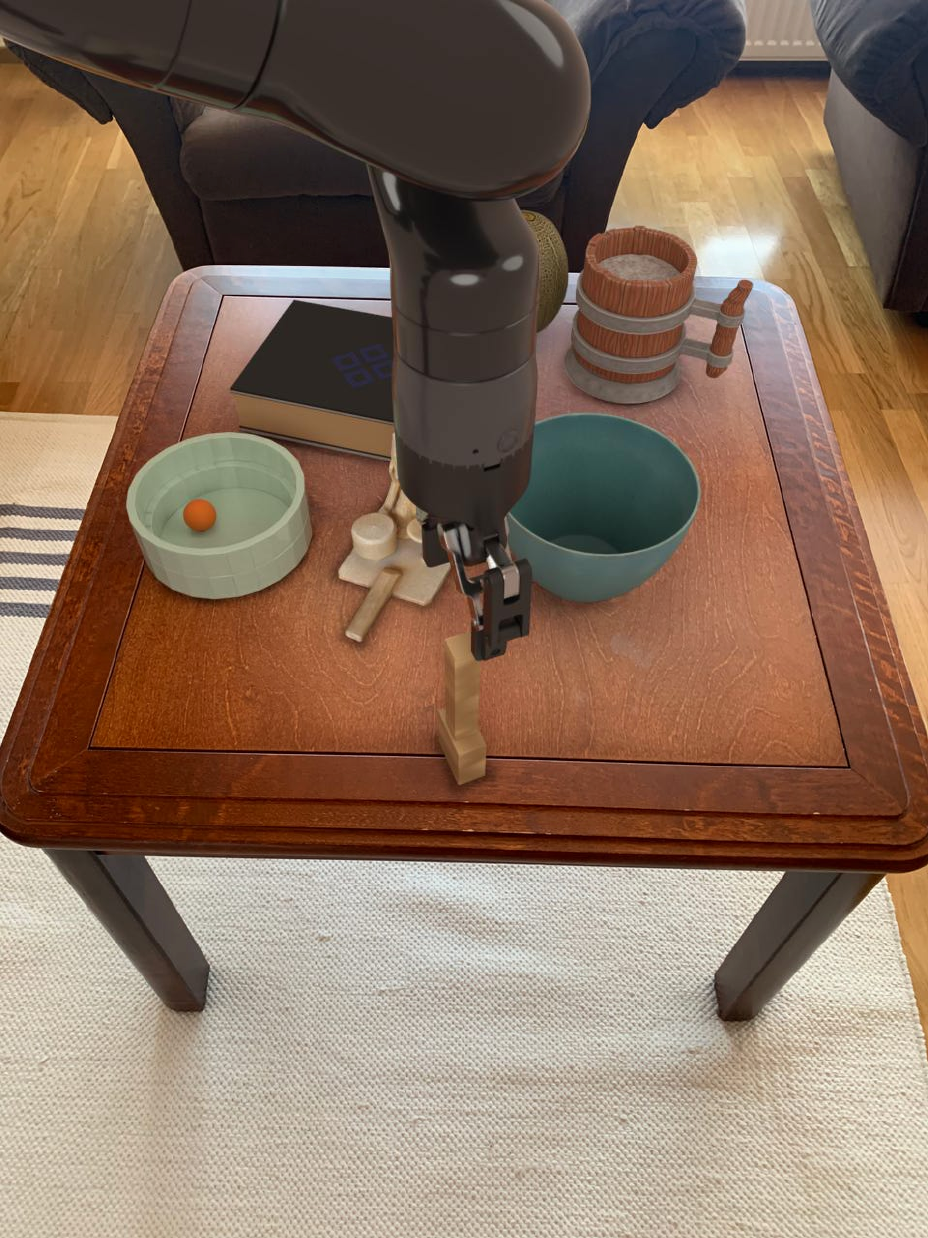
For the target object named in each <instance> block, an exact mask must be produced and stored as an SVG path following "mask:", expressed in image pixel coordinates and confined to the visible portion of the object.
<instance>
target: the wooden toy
mask: <svg viewBox="0 0 928 1238" xmlns="http://www.w3.org/2000/svg"><path fill="white" fill-rule="evenodd" d="M392 437H393V440H392V449H391V458H392V459H391V461H390V462H389V467H388V472H389V476H390V478H391V482H390V486H389V489H388V493H387V496H386V499H385V501H384V503H383V505H382V506H381V508H380V509H379V510H378V511H373V512H369V513H365V514H363V515H360V516H359V517H358V518H356V519H355V521H354V522H353V523H352V525H351V528H350V533H351V538H352V546H353V548H351V551H350V552H349V554H348V555H347V557H346V558H345V560H344V561H343V562H342V564H341V565H340V566H339V568H338V570H337V573H338V579H339V580H342V581H346V582H349V583H352V584H354V585H358V586H361V587H364V588H367V589H369V591H368V593H367V594H366V596H365V598H364V600H363V602H362V603H361V604H360V606H359V607H358V609H357V610H356V612H355V614H354V615H353V617H352V619H351V621H350V622H349V623H348V626H347V627H346V629H345V632H344V634H345V636H346V637H347V638H349V639H351V640H354V641H356V642H358V643H361V642H363V641H364V639H365V637H366V635H367V633H368V632H369V630H371V627H372V626H373V624H374V623H375V622H376V620H377V618H378V615H379V614H380V613H381V611H382V610H383V609H384V605H385V604H386V603H387V601H389V600H390V597H394V598H398V599H400V600H404V601H406V602H410V603H414V604H417V605H419V606H422V607H425V606H428V605H430V604H431V603H433V601H434V599H435V597H436V596H437V595H438V593H439V591H440V589H441V587H442V586H443V584H444V582H445V581H446V579H447V577H448V575H449V574H450V572H451V571H452V570H451V566H450V562H449V563H445V564H442V565H439V566H436V567H432V568H429V567H427V565H426V563H425V562H424V560H423V552H422V530H421V525H420V524H419V522H418V521H417V519H416V506H415V505H414V504H413V503H412V502H411V501H410V500H409V499H408V498H407V497H406V495H405V494H404V492H403V491H402V489H401V487H400V484H399V480H398V473H397V459H396V444H395V433H393V435H392Z"/></svg>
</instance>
